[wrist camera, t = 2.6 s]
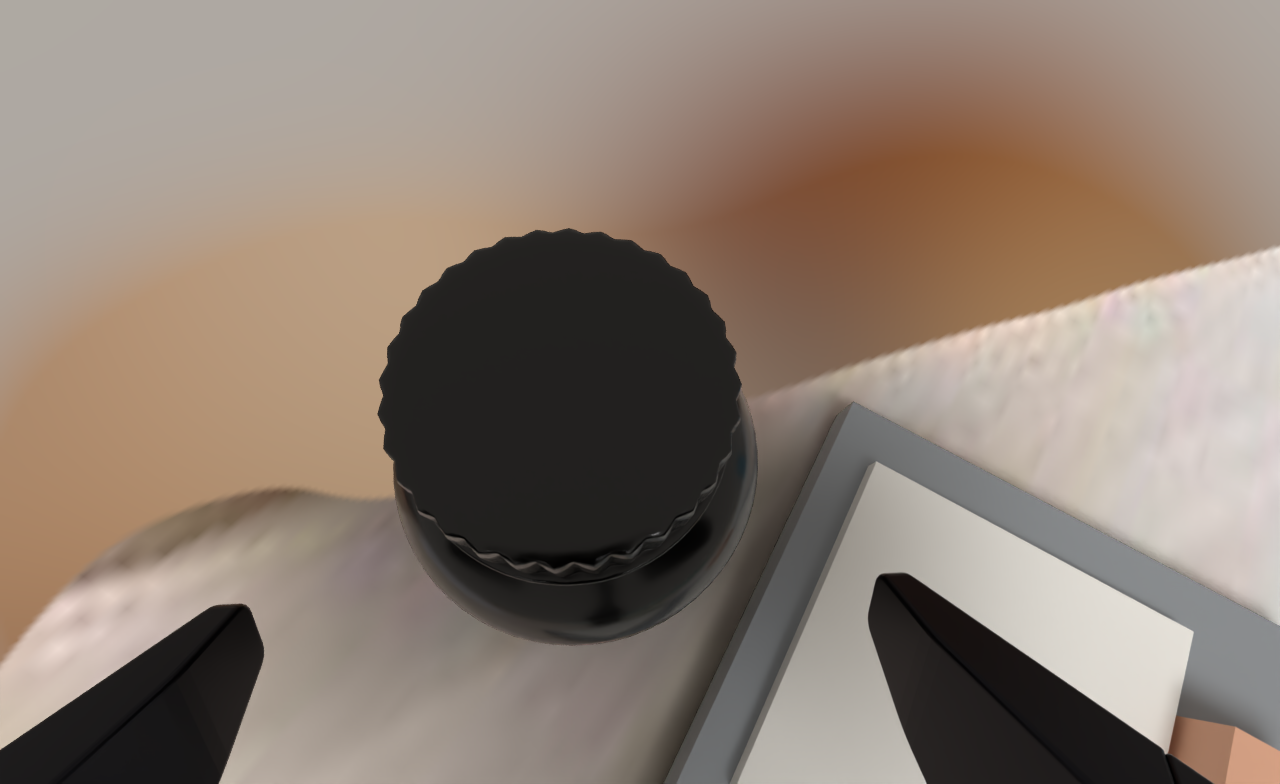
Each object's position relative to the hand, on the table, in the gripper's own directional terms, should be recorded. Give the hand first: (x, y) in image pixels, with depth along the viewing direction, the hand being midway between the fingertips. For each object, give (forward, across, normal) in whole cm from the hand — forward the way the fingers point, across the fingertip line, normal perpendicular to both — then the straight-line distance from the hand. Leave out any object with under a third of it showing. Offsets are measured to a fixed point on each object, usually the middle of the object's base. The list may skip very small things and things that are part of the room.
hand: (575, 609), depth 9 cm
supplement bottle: (+9, 0, +5) cm, 11 cm away
